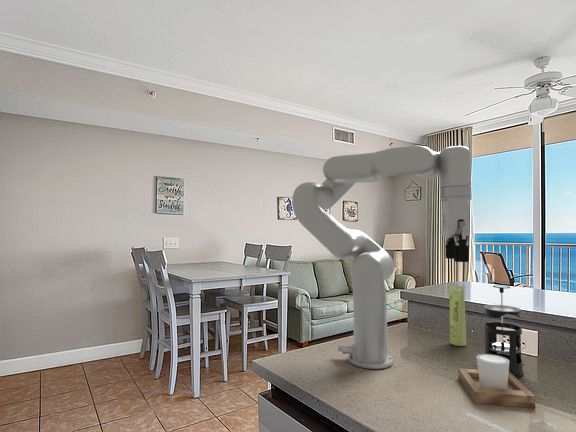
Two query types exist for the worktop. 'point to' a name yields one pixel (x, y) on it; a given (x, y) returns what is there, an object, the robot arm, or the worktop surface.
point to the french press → (514, 336)
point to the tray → (496, 391)
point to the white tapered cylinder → (493, 371)
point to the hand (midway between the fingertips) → (456, 260)
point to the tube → (457, 316)
